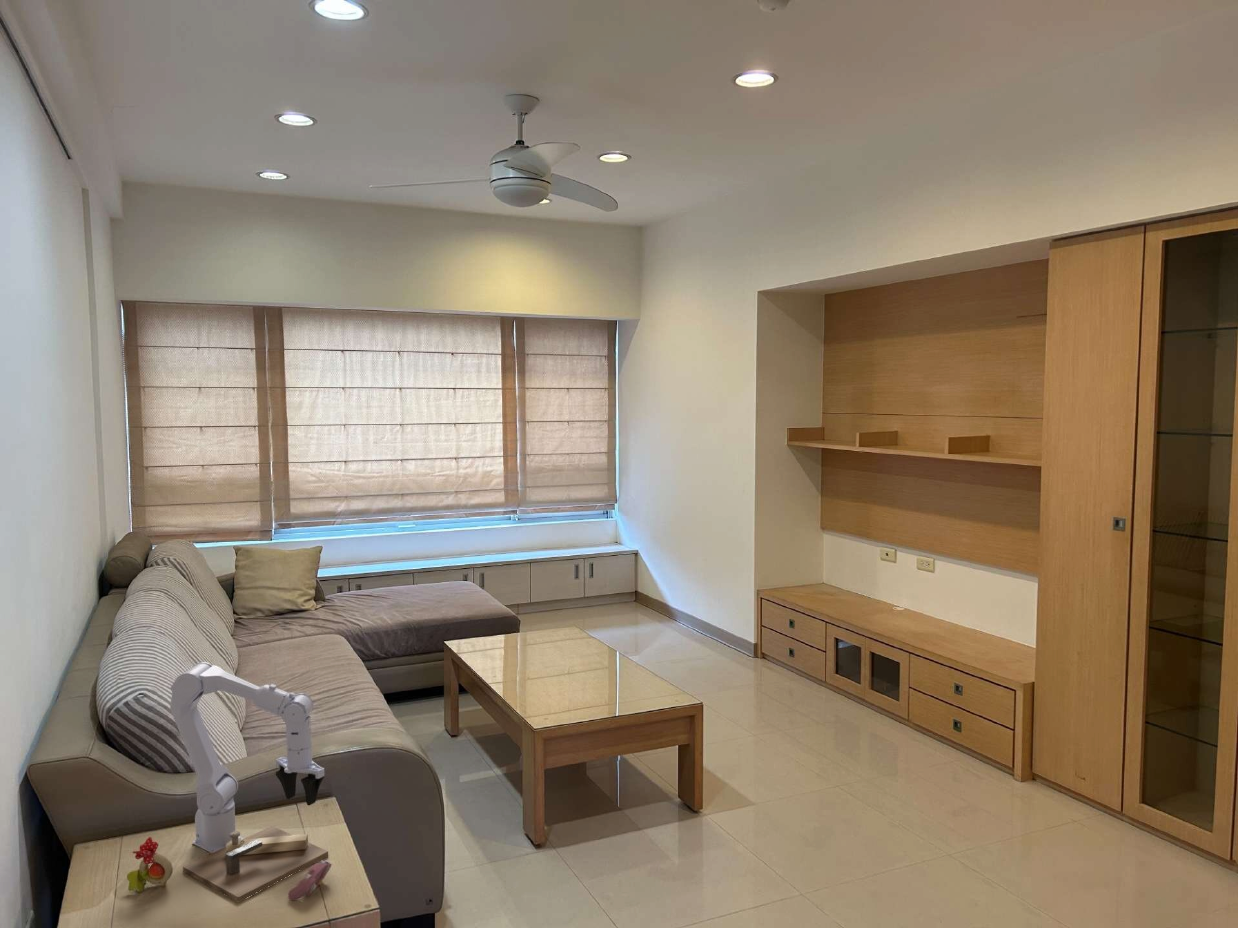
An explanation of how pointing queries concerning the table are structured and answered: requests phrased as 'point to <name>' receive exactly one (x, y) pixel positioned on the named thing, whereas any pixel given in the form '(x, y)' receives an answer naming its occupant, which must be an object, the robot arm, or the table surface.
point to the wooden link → (269, 843)
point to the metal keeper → (234, 855)
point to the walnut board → (253, 867)
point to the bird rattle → (156, 872)
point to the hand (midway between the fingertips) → (300, 800)
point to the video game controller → (310, 880)
